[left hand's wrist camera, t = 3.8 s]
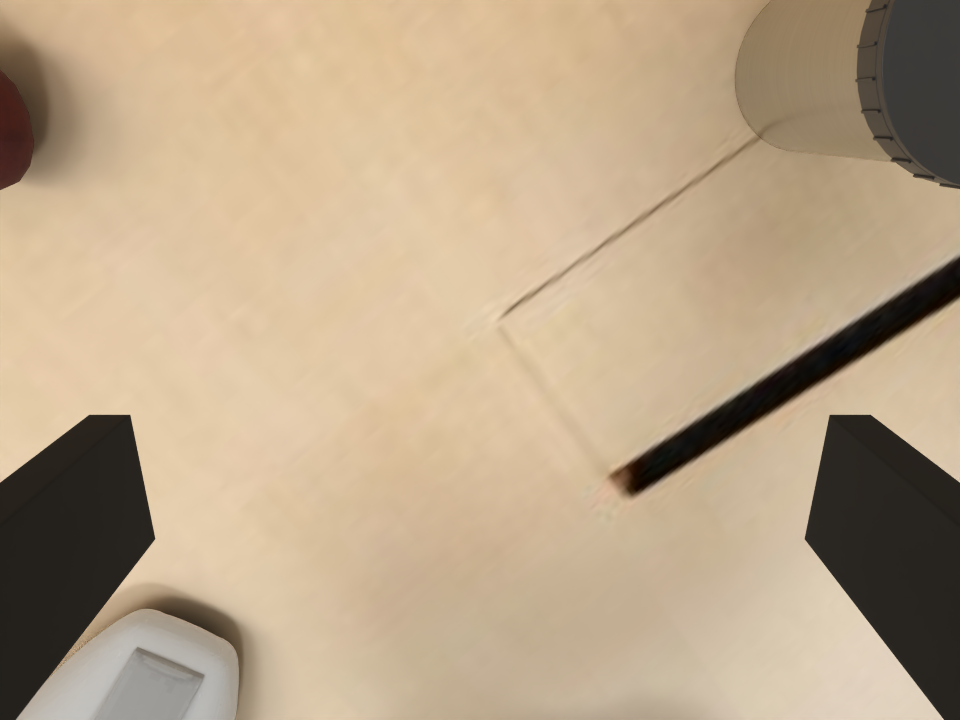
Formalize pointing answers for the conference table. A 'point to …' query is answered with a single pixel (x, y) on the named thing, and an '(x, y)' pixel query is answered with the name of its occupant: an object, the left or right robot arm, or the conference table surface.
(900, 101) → the lid
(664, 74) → the conference table surface
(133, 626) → the projector
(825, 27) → the jar
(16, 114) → the dark red ball
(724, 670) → the conference table surface
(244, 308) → the conference table surface
